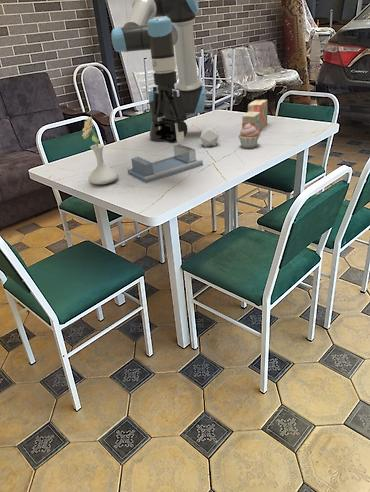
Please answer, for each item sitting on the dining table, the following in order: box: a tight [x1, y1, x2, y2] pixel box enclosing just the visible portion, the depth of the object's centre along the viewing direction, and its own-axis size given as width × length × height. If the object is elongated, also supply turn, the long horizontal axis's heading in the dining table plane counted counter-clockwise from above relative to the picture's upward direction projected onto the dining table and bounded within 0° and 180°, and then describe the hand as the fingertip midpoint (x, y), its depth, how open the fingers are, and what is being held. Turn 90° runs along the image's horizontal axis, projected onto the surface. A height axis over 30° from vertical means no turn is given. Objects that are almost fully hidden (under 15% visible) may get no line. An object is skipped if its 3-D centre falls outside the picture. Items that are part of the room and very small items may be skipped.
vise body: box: [127, 155, 204, 184], centre depth 166 cm, size 14×26×6 cm, turn 124°
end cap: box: [154, 118, 188, 144], centre depth 149 cm, size 10×7×7 cm
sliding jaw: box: [173, 143, 197, 163], centre depth 171 cm, size 11×6×5 cm, turn 34°
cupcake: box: [238, 123, 261, 149], centre depth 182 cm, size 9×9×10 cm
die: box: [199, 126, 220, 148], centre depth 189 cm, size 8×9×10 cm
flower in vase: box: [82, 116, 119, 186], centre depth 155 cm, size 13×11×25 cm
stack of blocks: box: [241, 99, 268, 134], centre depth 203 cm, size 21×6×12 cm, turn 155°
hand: (171, 137), depth 151 cm, fingers closed on end cap, 10 cm apart
